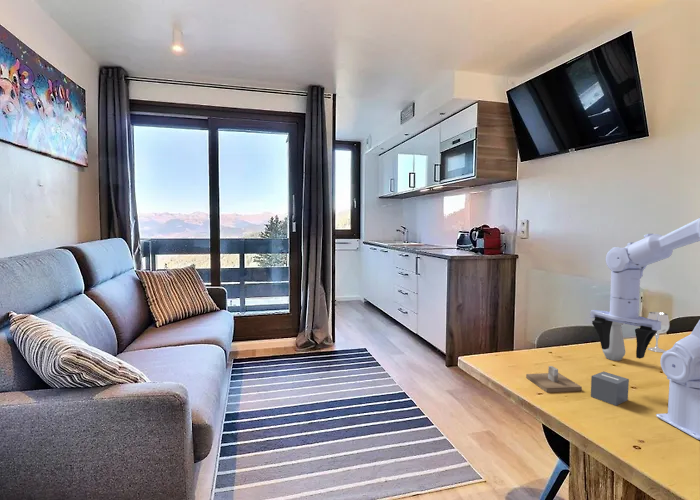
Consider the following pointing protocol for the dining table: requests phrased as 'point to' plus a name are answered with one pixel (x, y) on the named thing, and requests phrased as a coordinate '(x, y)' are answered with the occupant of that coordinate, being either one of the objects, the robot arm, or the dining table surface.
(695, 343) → the robot arm
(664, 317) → the wineglass
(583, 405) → the dining table surface
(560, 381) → the base
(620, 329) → the salt shaker
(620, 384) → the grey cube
